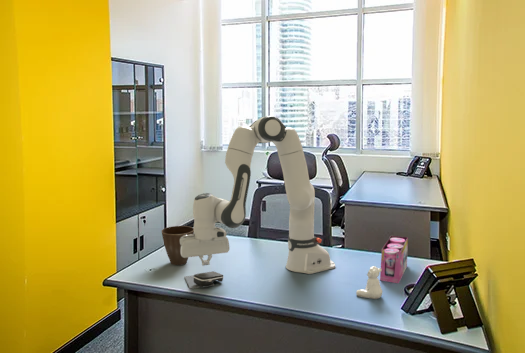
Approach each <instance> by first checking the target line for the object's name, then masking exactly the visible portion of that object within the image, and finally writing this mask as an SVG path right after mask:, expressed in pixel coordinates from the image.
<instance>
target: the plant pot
mask: <svg viewBox="0 0 525 353" xmlns="http://www.w3.org/2000/svg"><path fill="white" fill-rule="evenodd" d="M189 234H194V227H192V226H187V225H175V226H169V227H164V228H162V230H161V236H162V240H163V245H164V248H165V251H166V254H167V257H168V259H169V261H170V263H171V265H172V266H183V265H186V264H187V263H188V260H189V257H187V258H183V257H182V256H181V245H180V238H181V237H182V236H183V235H189ZM182 238H183V237H182Z"/></svg>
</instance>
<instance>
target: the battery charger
mask: <svg viewBox="0 0 525 353" xmlns="http://www.w3.org/2000/svg"><path fill="white" fill-rule="evenodd" d="M193 275H194V283H195V284H197V285H200V286H208V287H211V286H210V285H212V282H213V283H214V281H217V282H220V283H222V282H223V281H224V275H223V274H222V273H221V272H220V273H219V272H216V271H215V270H214V271H206V272H201V273H199V272H198V273H195V274H193Z"/></svg>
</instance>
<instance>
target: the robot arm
mask: <svg viewBox="0 0 525 353" xmlns="http://www.w3.org/2000/svg"><path fill="white" fill-rule="evenodd" d="M269 143H272V144H273V145H274V146H275V147H276V150H277V156H278V159H279V162H280V166H281V171H282V175H283V182H284V187H285V192H286V193H285V194H286V198H287V202H288V204H289V218H288V238H287V247H288V255H287V259H286V260H287V261H286V264H285V268H286V269H287V270H289V271H290V272H291V271H292V272H294V273H304V274H308V275H312V274H315V273H319V272H323V271H327V270H331V269H332V270H333V269H335V268H336V264H335V262H334V261H333V260H331V256H330V253H329V252H328V251H327V250H326V249H325V248H324V247H322V246H321V245H320V244H321V243H322V239H321V238H320V237H316V236H315V228H314V227H315V200H316V197H315V196H316V195H315V194H316V193H315V192H316V191H315V190H316V189H315V188H314V185H313V184H312V183H311V182H310V176H309V170H308V169H309V168H308V164H307V160H306V156H305V152H304V148H303V145H302V142H301V140H300V137H299V135H298V132H297V130H296V129H294V127H289V126H286V125H285V124H284V123H283V122H282V121H281V119H280V118H279V117H277V116H275V115H266V116H263V117H260V118H258V119H257V120H255V121H254V122H253V123H252V124H250V126H246V125H242V126H238V127H237V128H236V129H235V130H234V133H232V136H231V138H230V140H229V144H228V146H227V148H226V152H225V157H224V158H225V159H224V160H225V161H224V164H225V166H226V168H227V169H228V170H229V171H230V173H231V174H232V177H233V187H232V192H231V197H230V200H228V199H225V198H220V197H217V196H215V195H213V193H210V192H205V193H201V194H198V195H196V196H195V198H194V199H193V204H192V218H193V219H194V222H193V228H194V234H189V235H183V236H182V237H183V238H182V237H181V238H180V245H181V256H182V257H183V258H187V257H188V258H194V257H199V259H200V261H201V265H202V266H203V267H205V266H209V265H211V264H210V263H211V262H210V261H211V260H212V258H213V255H217V254H227V253H229V252H230V242H229V238H228V237H227V235H228V234H227V231H226V230H225V229H224V228H222V227H218V226H217V227H216V223H220V224H223V225H224V226H226V227H228V228H231V229H235V228H239V227H240V226H241V225H243V223H244V222H245V220H246V217H247V209H246V204H247V199H248V193H249V188H250V183H251V182H250V181H251V177H252V176H251V173H252V171H251V163H252V158H253V156H254V151H255V148H256V147H257V145H258V144H269ZM204 256H207V258H206V259H204Z"/></svg>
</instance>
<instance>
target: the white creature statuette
mask: <svg viewBox="0 0 525 353" xmlns="http://www.w3.org/2000/svg"><path fill="white" fill-rule="evenodd" d="M381 270H382V269H381V267H377V266H375V265H373V266H371V267H369V270H367V271H368V272H367V274H366V276H367V277H368V279H367V280H366V285H365V288H364V289H361V288H360V289H357V290H356V291H355V292H356V293H355V295H356V296H357V297H359V298H360V297H361V298H365V299H372V300H377V299H380V298H381V297H382V296H383V289H382V287H381V283H380V279H379V278H378V277H380V276H379V275H380V272H381Z"/></svg>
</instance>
